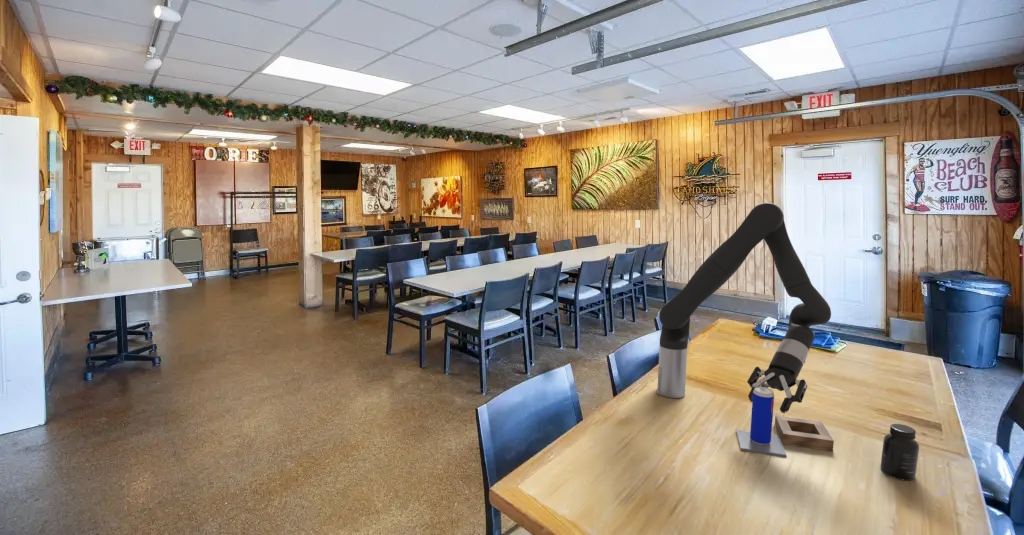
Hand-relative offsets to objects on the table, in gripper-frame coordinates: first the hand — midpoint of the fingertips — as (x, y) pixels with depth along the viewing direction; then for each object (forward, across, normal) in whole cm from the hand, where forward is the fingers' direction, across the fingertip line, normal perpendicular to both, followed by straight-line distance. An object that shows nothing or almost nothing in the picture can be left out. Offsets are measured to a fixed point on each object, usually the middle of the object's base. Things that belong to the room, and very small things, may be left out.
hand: (766, 406), depth 132 cm
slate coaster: (+9, 0, +6) cm, 11 cm away
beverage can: (+8, 0, +6) cm, 10 cm away
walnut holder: (-1, +5, +16) cm, 17 cm away
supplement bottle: (0, +27, +16) cm, 32 cm away
